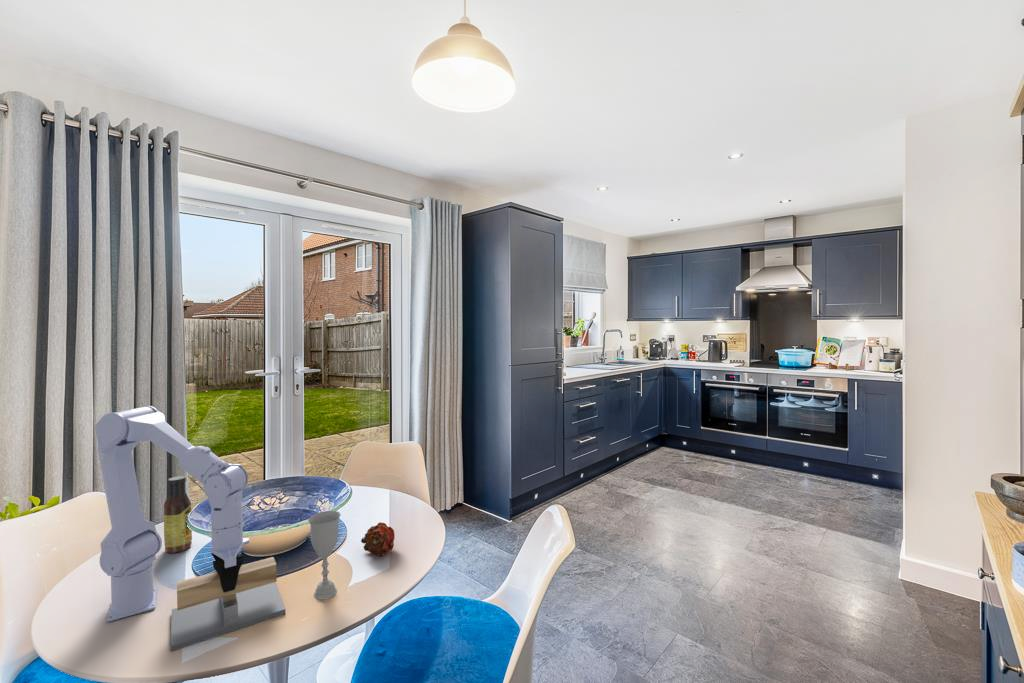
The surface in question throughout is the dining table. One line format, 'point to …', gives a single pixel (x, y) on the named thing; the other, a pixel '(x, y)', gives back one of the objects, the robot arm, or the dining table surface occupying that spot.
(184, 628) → the slate base plate
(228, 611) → the steel ridge
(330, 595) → the chalice
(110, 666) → the dining table surface
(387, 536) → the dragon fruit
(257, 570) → the oak bar
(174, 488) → the sauce bottle
